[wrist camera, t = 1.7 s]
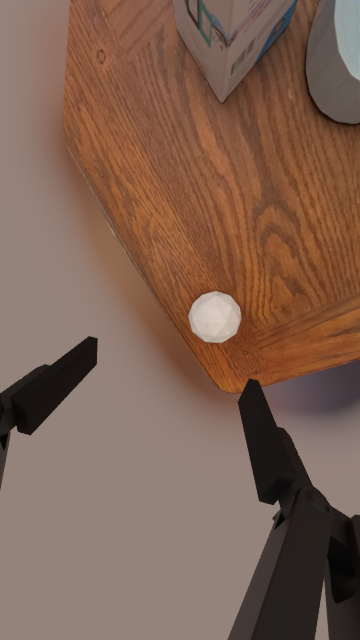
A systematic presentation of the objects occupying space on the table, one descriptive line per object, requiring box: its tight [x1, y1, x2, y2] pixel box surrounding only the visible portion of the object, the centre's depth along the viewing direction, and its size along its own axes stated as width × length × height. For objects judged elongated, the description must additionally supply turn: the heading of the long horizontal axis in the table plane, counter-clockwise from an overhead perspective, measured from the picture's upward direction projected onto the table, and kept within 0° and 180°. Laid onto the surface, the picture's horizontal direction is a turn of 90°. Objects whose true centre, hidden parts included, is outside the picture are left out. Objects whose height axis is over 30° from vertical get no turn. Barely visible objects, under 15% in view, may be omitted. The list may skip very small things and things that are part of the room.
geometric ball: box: [188, 291, 241, 343], centre depth 27 cm, size 8×8×8 cm
